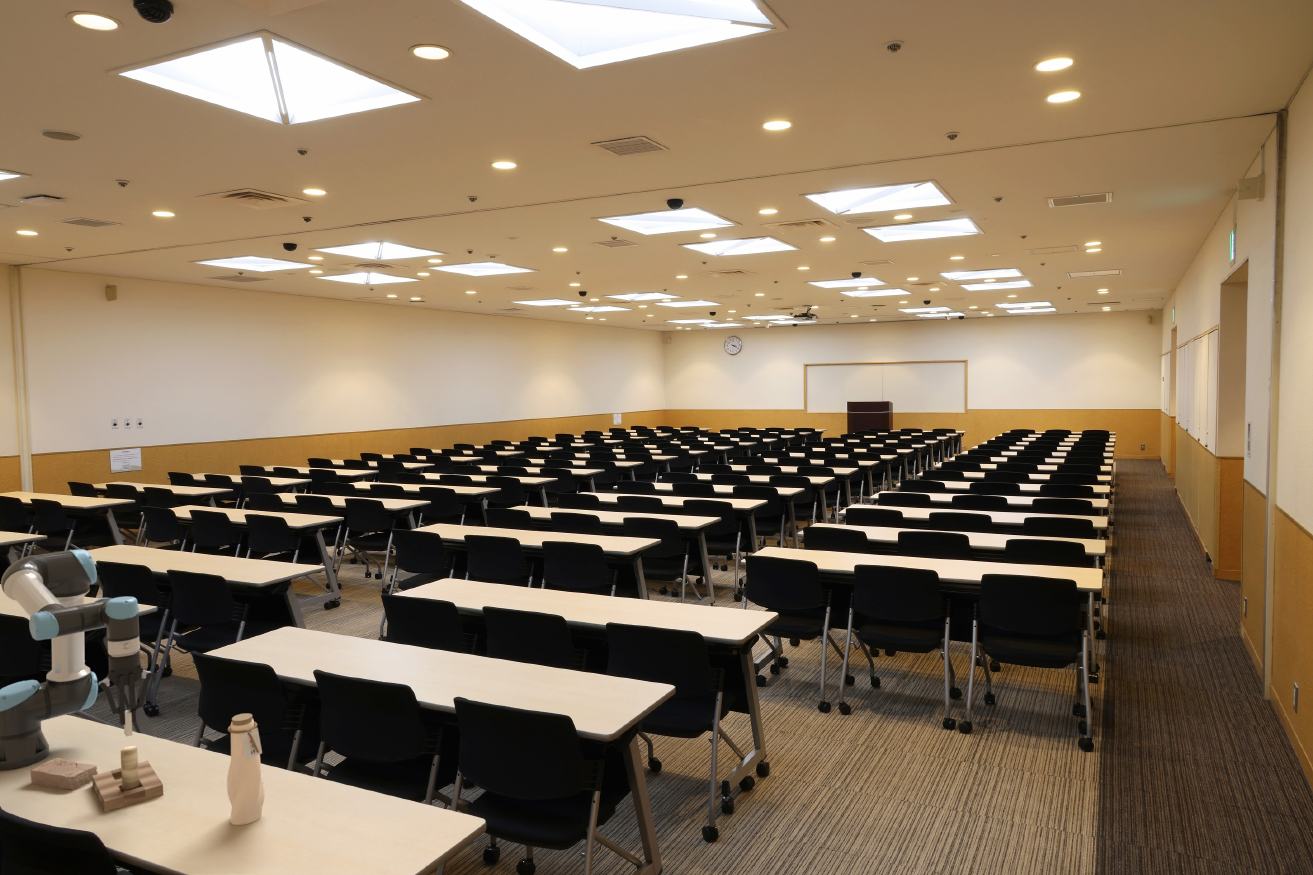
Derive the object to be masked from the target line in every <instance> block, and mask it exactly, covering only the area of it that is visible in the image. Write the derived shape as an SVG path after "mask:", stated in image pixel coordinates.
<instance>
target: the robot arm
mask: <svg viewBox="0 0 1313 875" xmlns="http://www.w3.org/2000/svg"><path fill="white" fill-rule="evenodd" d="M97 579H98V574H97V569H96V564H95V561H94V559H93V556H92V555H91V554H90V552H89V551H87V550H86V549H68V550H63V551H55V552H49V553H42V554H41V553H40V554H35V555H34V554H33V555H29V556H25V557H23V558H20V559H18V560H16V561H15V562H13V563H12V564H11V565H10V566H8V567H7V569H6V570H5V571H4V573H3V575H2V577H1V581H0V586H1V589H2V591H3V593H4V594H5V596H6V597H8V598H9V599H11V600H13V601H16V602H17V603H18V604H19V605H20V607H21V608H22V609H23V610H24V611H25V613H27V615H28V616H29V621H28V622H29V623H28V624H29V632H30V635H31V637H32V639H34V640H35V641H43V640H51V670H50V671H48V672H47V674H46V681H44V682H41V683H40V682H39V681H38V680H35V679H28V680H22V681H17V682H14V683H12V684H9V685H6V686H4V687H2V688H1V689H0V771H7V770H8V771H9V770H13V769H19V768H23V767H26V766H29V765H32V764H36V763H38V762H40V761H42V760H44V759H46V758H47V757H48V756H49V755H50V744H49V742H48V741H47V739H46V737H45V734H44V732H43V730H42V721H46V720H50V719H54V718H58V717H61V716H66V715H69V714H74V713H78V712H80V711H83V710H86V709H89V708H91V707H92V706H93V705H94V704H95V702H96V700H97V697H98V691H99V687H100V688H101V689H102V690H103V693H104V695H105V699H106V700H107V704H108V705H109V709H110V711H111V713H112V714H113V715H117V714H118V720H119V721H118V722H119V724H120V726H123V728H124V729H123V730H124V731H123V732H124V735H125V737H130V736H133V723H135V722H136V721H137V715H136V714H137V710H138V709H140V708H143V707H144V704H145V703H144V702H145V698H146V694H147V691H148V690H147V689H148V685H149V681H150V680H151V678H152V676H153V673H152V672H151V671H150V670H145V669H144V668H143V667H142V665H141V664H142V663H141V662H142V661H141V659H142V658H141V652H140V649H141V646H140V645H141V642H140V622H139V621H140V620H139V613H140V609H139V604H138V599H137V598H136V597H134V596H118V597H114V598H112V597H101V598H98V599H96V600H95V601H94V602H89V603H85V596H86V595H87V594H88V593H89V592H90V590H91V588H90V586H91V585H93V584H96V582H97ZM102 628H106V632H107V633H106V634H107V635H106V636H107V654H109V656H108V672H107V674H106V677H105V678H104V679H103V680H100V681H98V678H97V675H96V673H95V672H94V671H91V667H89V666H87V665H86V664H85V662H86V660H85V632H89V631H92V630H98V629H102ZM140 677H141V682H140V686H139V689H138V690H139V691H138V695H137V700H136V682H137V681H138V680H139V678H140ZM110 682H111V683H112V684H113V685H115V686H116V690H117V706H118V707H117V706H116V703H115V701H114V700H115V699H114V697H113V695H112V692H111V689H110V688H109V687H110V685H111V683H110ZM126 686H127V689H128V690H127V692H128V710H126V702H125V700H126V698H125V687H126Z"/></svg>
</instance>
